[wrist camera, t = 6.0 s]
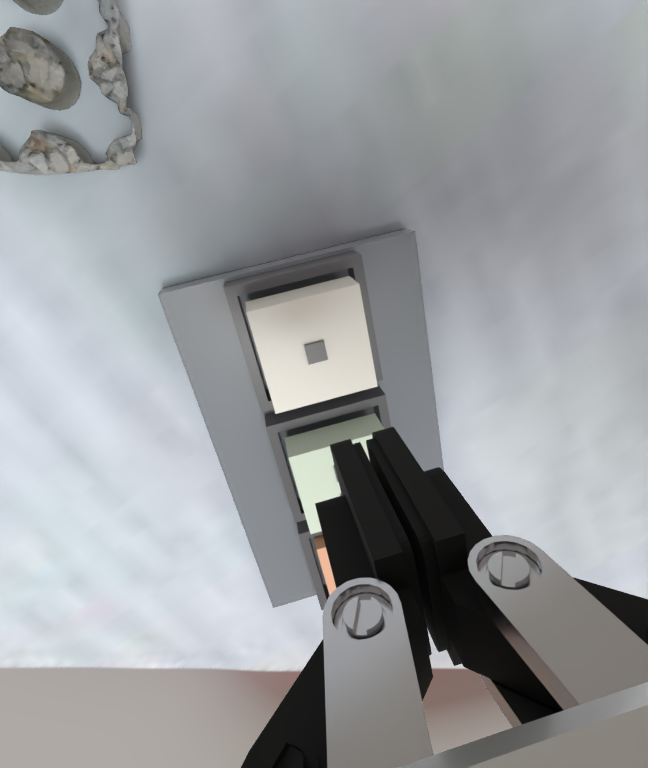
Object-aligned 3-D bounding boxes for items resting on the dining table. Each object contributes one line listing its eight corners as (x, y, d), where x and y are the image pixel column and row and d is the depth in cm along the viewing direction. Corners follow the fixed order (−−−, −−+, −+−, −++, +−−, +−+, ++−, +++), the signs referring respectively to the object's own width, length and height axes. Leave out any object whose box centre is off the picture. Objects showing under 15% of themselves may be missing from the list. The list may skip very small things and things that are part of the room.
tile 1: (349, 275, 22) (360, 284, 20) (367, 371, 24) (378, 388, 22) (245, 302, 21) (246, 313, 19) (272, 396, 23) (275, 415, 21)
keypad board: (404, 228, 24) (425, 234, 22) (445, 538, 33) (463, 569, 31) (162, 288, 23) (152, 301, 21) (271, 590, 32) (275, 627, 30)
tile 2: (374, 413, 25) (386, 432, 23) (388, 486, 27) (400, 510, 25) (284, 437, 24) (288, 460, 22) (305, 510, 26) (311, 536, 24)
